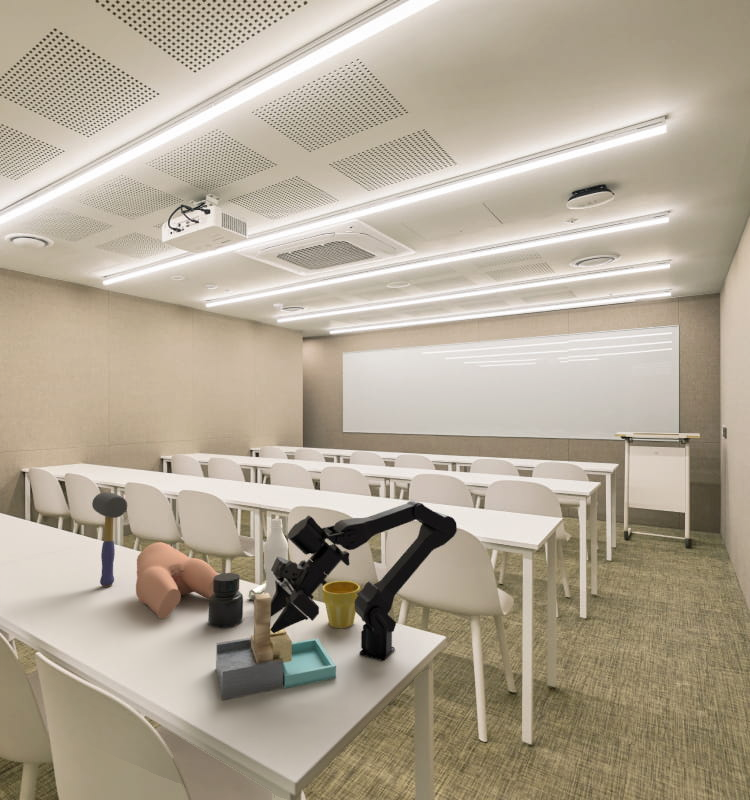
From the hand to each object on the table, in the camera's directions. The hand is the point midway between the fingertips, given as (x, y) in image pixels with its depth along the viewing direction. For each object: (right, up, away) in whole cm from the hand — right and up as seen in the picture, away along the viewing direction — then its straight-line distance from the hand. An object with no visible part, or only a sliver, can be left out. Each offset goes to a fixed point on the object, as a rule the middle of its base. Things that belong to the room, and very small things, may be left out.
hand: (268, 624), depth 105 cm
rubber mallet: (-64, -12, +52) cm, 83 cm away
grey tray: (-4, -10, -2) cm, 11 cm away
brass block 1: (+1, -7, +3) cm, 7 cm away
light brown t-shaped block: (-1, -7, -1) cm, 7 cm away
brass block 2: (+3, -7, -2) cm, 7 cm away
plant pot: (+14, -12, +26) cm, 32 cm away
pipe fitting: (-12, -13, +45) cm, 48 cm away
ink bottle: (-17, -12, +26) cm, 33 cm away
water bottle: (-6, -12, +38) cm, 41 cm away
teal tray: (+7, -11, +3) cm, 13 cm away
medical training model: (-38, -12, +40) cm, 57 cm away
